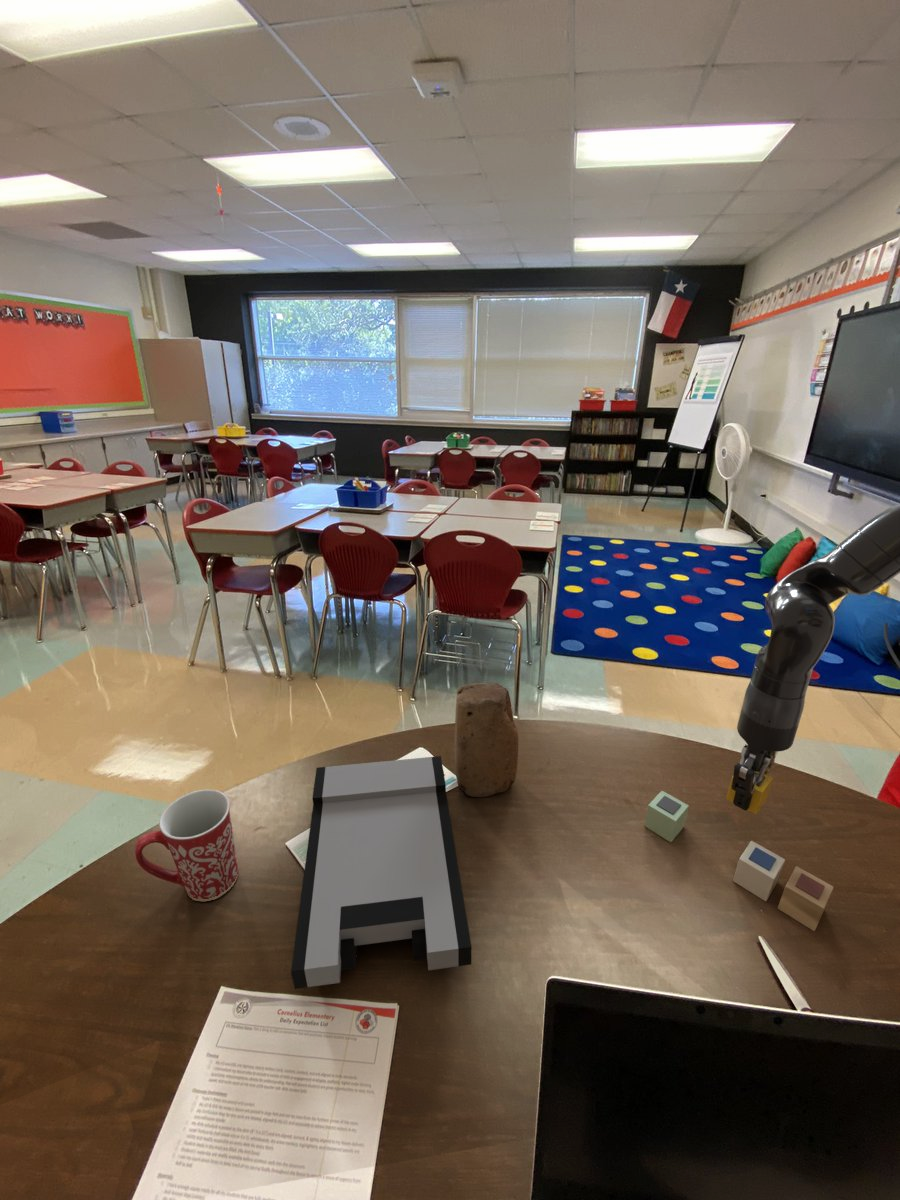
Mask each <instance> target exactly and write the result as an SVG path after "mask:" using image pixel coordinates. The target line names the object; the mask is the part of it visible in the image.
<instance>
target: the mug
mask: <svg viewBox="0 0 900 1200" xmlns="http://www.w3.org/2000/svg"><path fill="white" fill-rule="evenodd" d="M158 827H159V830H155V831H150V832H148V833H146V834H143V835H142V836H141V837H140V838H139V839H138V840H137V842H136V844H135V848H134V853H135V854H134V855H135V859H136V862H137V864H138V865H139V866H140V868H141V869H142V870H143V871H145V872H146V873H148V874H149V875H151V876H153V877H155V878H158V879H160V880H163V881H166V882H169V883H173V884H176V885H180V886H182V887H183V889H184V892H185V891H186V892H185V894H186V893H187V894H188V895H189V896H191V897H193V898H196V899H209V898H212V897H215V896H218V895H219V894H221V893H222V892H224V891H225V890H227V889H228V888H229V887H230V886H231V885H232V883H233V882H234V881H235V879H236V877H237V874H238V875H239V866H238V859H237V851H236V844H235V839H234V838H235V837H234V832H233V824H232V817H231V802H230V799H229V797H228V796H227V794H225V793H224V792H222V791H220V790H217V789H212V788H211V789H210V788H209V789H198V790H195V791H191V792H188V793H186V794H184V795H182V796H180V797H178V798H176V799H175V800H174V801H172V802H170V803H169V804H168V805H167V807H166V808H165V809H164V810H163V812H162V814H161V815H160V818H159V822H158ZM154 843H157V844H161V845H163V846H164V847H165V849H167V850H168V851H170V854H171V856H172V859H173V862H174V864H175V867H176V870H171V869H168V868H166V867H163V866H160V865H158V864H156V863H153V862H152V861H150V860H149V859H147V858H146V857H145V855H144V854H143V850H144V848H145V847H146V846H148V845H150V844H154ZM187 894H186V895H187Z"/></svg>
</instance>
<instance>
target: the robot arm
mask: <svg viewBox="0 0 900 1200" xmlns="http://www.w3.org/2000/svg"><path fill="white" fill-rule="evenodd" d="M899 574H900V502H899V503H897V504H895V505H893V506H891V507H889V508H887V509H884V510H883V511H881V512H880V513H877V514H876V515H875V516H873V517H872V518H870V519H869V520H868V521H866V522H865V523H864V524H862V525H861V526H860V527H858V528H857V529H856V530H855V531H853V532H852V533H851V534H850V535H848V536H847V537H845V539H843V540H842V541H841V542H839V544H837V545H836V546H835V547H833V549H832V550H830V551H829V552H828V553H826V554H824V555H823V556H820V557H817V558H816V559H814V560H812V561H810V562H808V563H806V564H804V565H803V566H801V567H799V568H798V569H795V570H794V571H792V572H791V573H789V574H787V575H785V576H784V577H782V578H781V579H780V580H779V581H778V582H776V583H775V585H773V587H772V588H771V589H770V590H769V591H768V593H767V594H766V597H765V600H764V609H765V612H766V614H767V616H768V619H769V621H770V623H771V629H770V636H769V639H768V641H767V644H765V645H763V646H762V647H761V648H760V649H759V651H758V652H757V655H756V658H755V661H754V664H753V669H752V672H751V677H750V680H749V682H748V685H747V687H746V689H745V693H744V696H743V701H742V705H741V709H740V712H739V717H738V721H737V726H736V730H737V733H738V735H739V736H740V738H741V739H742V740H743V741H744V742H745V743H746V744H744V745H743V746H742V748H741V752H740V760H739V762H736V764H734V766H733V767H734V768H733V774H732V777H733V782H732V790H734V791H736V793H735V797H734V800H733V802H732V803H733V805H734V806H735V807H737V808H739V809H741V810H743V811H748V808H749V806H750V803H751V799H752V796H753V793H754V792H755V787H756V785H757V782H760V781H761V780H762V779H763V777H764V774H766V775H768V774H770V769H771V768H772V767H773V765H774V764H775V761H776V760H775V759H776V757H777V754H778V753H779V752H784V751H787V750H788V749H790V748H791V747H793V745H794V742H795V738H796V735H797V731H798V728H799V725H800V721H801V718H802V715H803V712H804V708H805V702H806V695H807V690H808V688H809V684H810V681H811V678H812V675H813V669H814V668H815V666H816V665H817V664H818V663H819V661H820V659H821V657H822V656H823V655H824V653H825V651H826V649H827V648H828V646H829V644H830V642H831V640H832V637H833V634H834V631H835V624H836V618H835V612H834V610H833V608H832V607H831V604H833V603H835V602H836V601H838V600H840V599H842V598H843V597H845V596H847V595H848V594H853V595H857V596H867V595H869V594H871V593H873V592H875V591H876V590H878V589H880V588H881V587H883V586H884V585H885V584H887V583H888V582H890V581H891V580H893V579H894V578H895V577H896V576H898V575H899ZM883 638H884V641H885V645H886V647H887V650H888V652H889V654H890V656H891V658H892V660H893V661H894V662H895V664H896V666H897V667H898V668H899V669H900V659H899V658H898V657H897V655H896V653H895V651H894V650H893V647H892V644H891V642H890V639H889V635H888V622H883ZM755 771H756V772H759V774H756V773H755Z"/></svg>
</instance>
